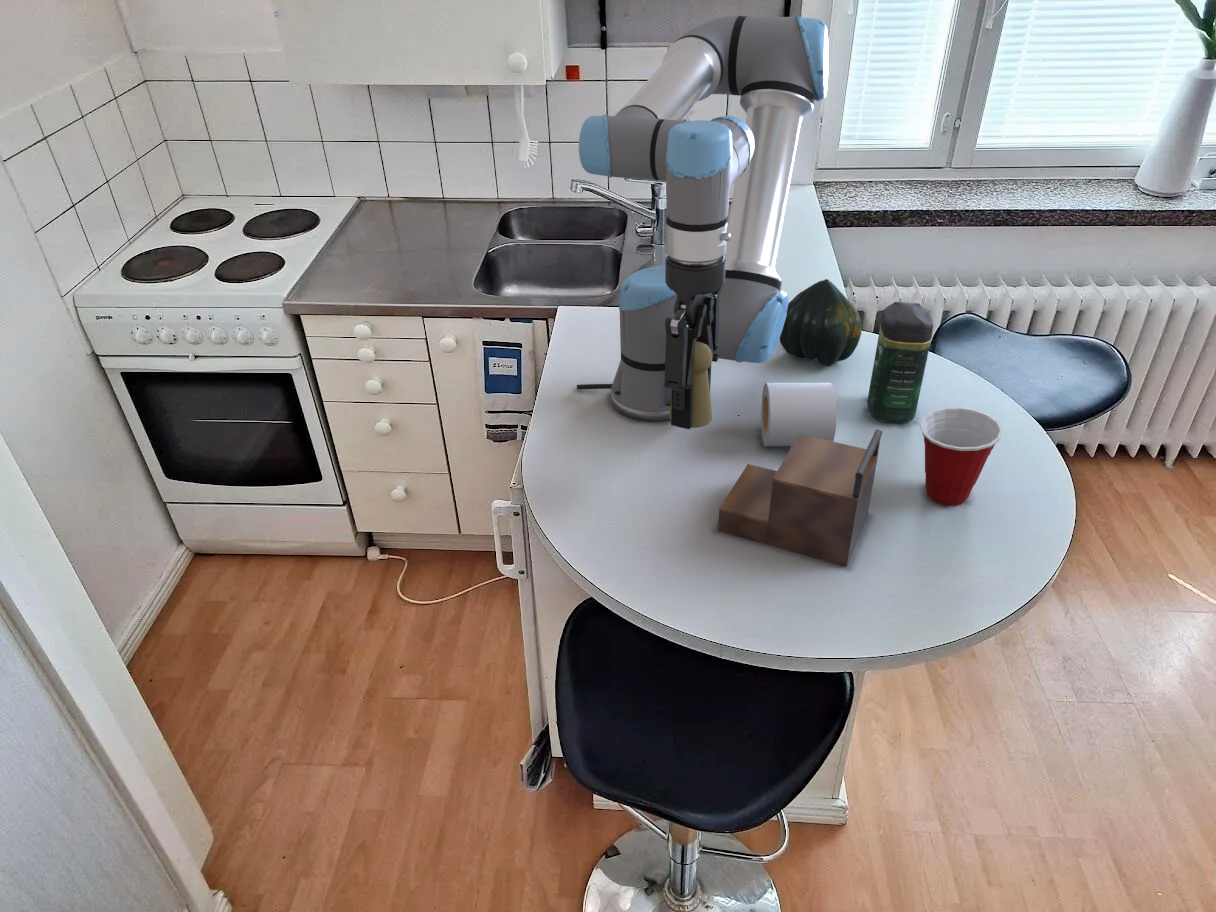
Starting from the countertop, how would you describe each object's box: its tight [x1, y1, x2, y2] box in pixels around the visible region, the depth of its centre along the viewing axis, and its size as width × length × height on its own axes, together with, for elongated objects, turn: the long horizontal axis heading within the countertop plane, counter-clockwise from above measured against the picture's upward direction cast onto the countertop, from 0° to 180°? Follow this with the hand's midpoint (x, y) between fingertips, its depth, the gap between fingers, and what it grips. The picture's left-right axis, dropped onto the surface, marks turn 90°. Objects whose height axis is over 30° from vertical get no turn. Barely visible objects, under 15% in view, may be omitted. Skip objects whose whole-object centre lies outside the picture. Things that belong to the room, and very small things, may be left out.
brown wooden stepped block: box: [717, 429, 883, 568], centre depth 118 cm, size 18×12×15 cm, turn 63°
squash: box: [779, 278, 863, 367], centre depth 162 cm, size 14×15×15 cm
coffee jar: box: [866, 301, 934, 424], centre depth 142 cm, size 10×8×19 cm
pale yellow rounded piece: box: [669, 341, 713, 429], centre depth 118 cm, size 6×6×11 cm
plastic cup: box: [918, 406, 1004, 507], centre depth 124 cm, size 11×11×12 cm
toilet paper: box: [760, 382, 838, 447], centre depth 137 cm, size 10×10×10 cm
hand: (690, 413), depth 121 cm, fingers closed on pale yellow rounded piece, 6 cm apart
